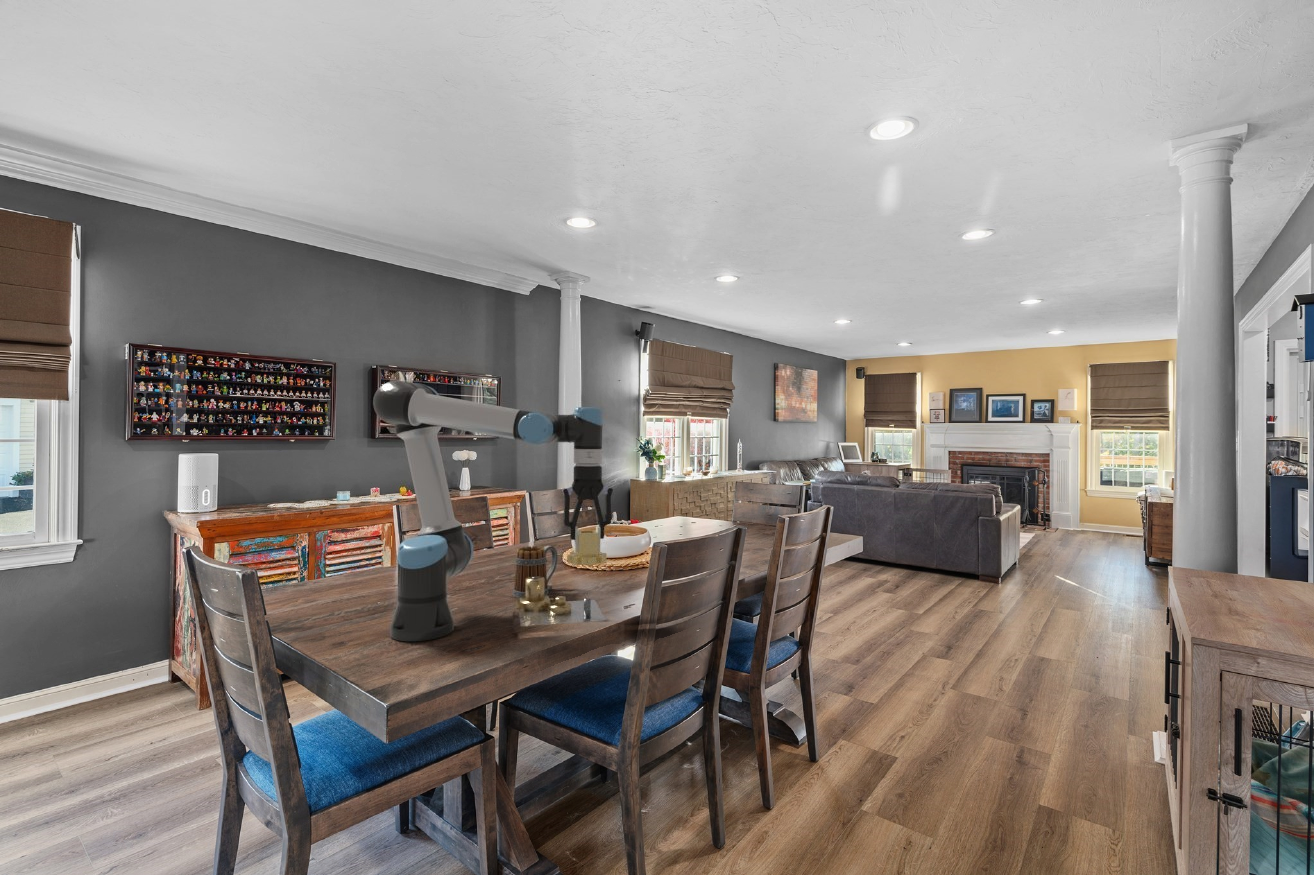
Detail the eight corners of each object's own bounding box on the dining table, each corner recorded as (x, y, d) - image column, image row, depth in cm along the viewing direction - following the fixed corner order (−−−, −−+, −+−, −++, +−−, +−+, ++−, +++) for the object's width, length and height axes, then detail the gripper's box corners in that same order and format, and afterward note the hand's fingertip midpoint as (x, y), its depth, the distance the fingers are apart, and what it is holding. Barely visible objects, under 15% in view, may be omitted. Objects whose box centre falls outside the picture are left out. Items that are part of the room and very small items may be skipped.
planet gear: (570, 566, 158) (570, 535, 158) (565, 558, 168) (565, 529, 168) (609, 564, 161) (610, 534, 161) (602, 556, 171) (602, 528, 171)
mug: (529, 605, 179) (529, 553, 179) (505, 598, 185) (505, 549, 185) (567, 593, 191) (567, 545, 191) (544, 588, 198) (544, 542, 198)
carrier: (517, 631, 156) (517, 593, 156) (515, 607, 177) (515, 573, 177) (606, 624, 161) (606, 588, 161) (593, 602, 182) (594, 569, 182)
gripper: (555, 466, 158) (554, 555, 159) (624, 465, 163) (623, 552, 164) (552, 464, 166) (551, 550, 166) (618, 463, 170) (617, 547, 171)
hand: (587, 551), depth 165 cm, fingers closed on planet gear, 5 cm apart
